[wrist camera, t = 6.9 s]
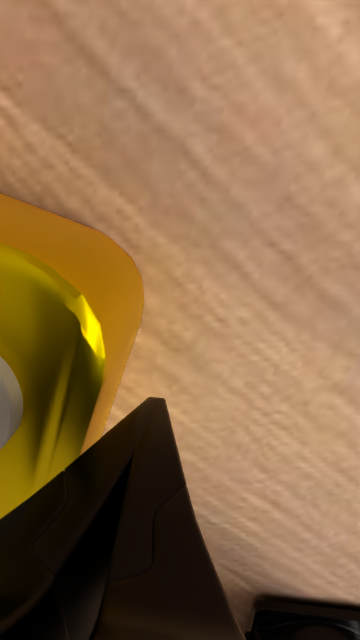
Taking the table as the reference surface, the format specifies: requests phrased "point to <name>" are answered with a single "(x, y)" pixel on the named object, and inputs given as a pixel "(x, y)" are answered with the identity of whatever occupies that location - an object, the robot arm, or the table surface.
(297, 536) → the table surface
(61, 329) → the element tile
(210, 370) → the table surface
